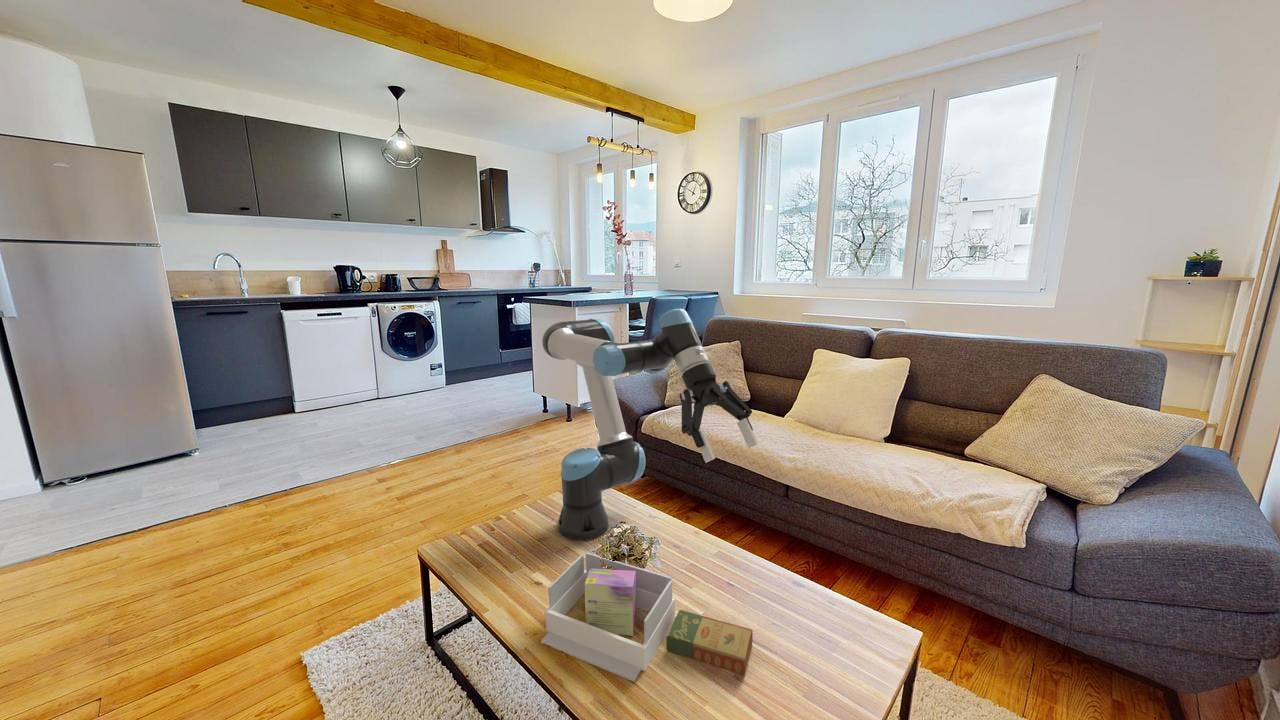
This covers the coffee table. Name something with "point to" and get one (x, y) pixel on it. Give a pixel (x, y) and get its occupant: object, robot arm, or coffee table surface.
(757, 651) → the coffee table surface
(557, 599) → the open crate
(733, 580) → the coffee table surface
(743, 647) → the carton
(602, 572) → the box
